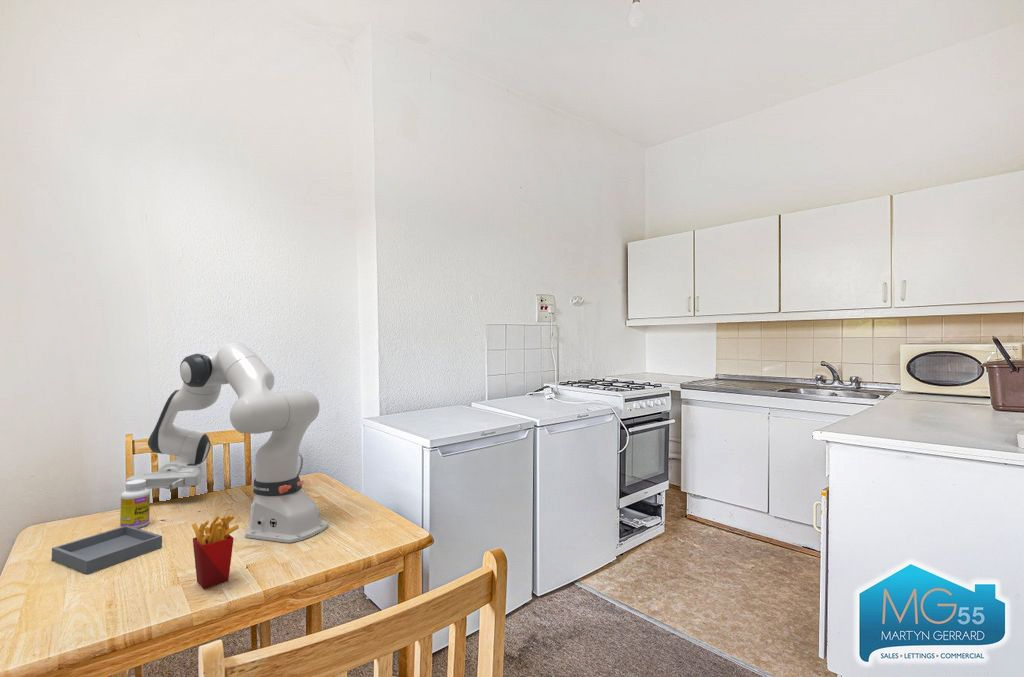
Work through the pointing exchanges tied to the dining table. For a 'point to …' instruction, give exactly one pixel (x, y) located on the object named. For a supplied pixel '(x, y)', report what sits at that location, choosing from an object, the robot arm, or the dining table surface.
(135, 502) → the supplement bottle
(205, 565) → the french fries
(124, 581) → the dining table surface
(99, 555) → the tray
